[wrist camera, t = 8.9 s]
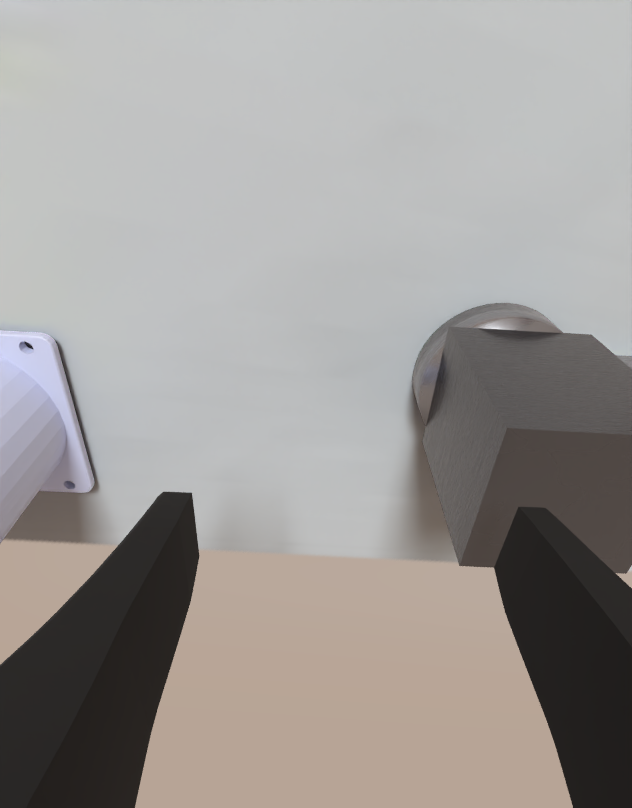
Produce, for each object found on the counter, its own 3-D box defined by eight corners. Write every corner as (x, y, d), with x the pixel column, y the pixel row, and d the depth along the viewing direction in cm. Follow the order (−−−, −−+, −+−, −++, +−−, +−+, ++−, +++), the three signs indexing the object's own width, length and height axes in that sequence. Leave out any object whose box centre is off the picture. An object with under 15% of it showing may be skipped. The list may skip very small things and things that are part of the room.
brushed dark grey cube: (422, 441, 19) (459, 565, 14) (448, 326, 16) (506, 428, 11) (544, 448, 19) (626, 573, 14) (591, 334, 16) (713, 439, 11)
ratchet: (402, 430, 20) (418, 496, 17) (426, 299, 17) (453, 347, 14) (737, 446, 21) (820, 514, 17) (824, 319, 18) (947, 372, 14)
